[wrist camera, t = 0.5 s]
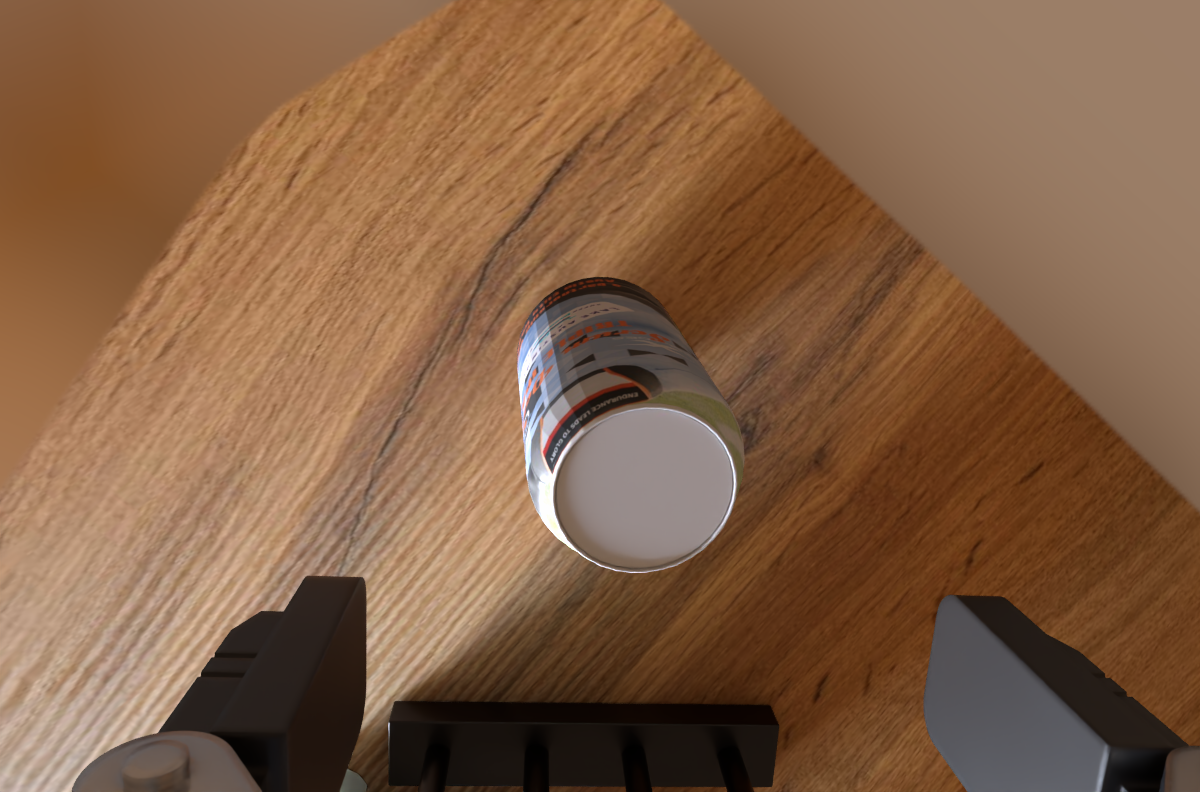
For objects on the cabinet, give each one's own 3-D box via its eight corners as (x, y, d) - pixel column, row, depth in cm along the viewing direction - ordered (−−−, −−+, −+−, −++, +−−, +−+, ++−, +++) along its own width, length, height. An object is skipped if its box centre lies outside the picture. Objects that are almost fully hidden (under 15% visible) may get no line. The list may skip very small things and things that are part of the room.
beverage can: (624, 242, 33) (668, 274, 21) (720, 403, 34) (810, 517, 23) (482, 330, 33) (448, 411, 21) (583, 485, 35) (604, 638, 23)
